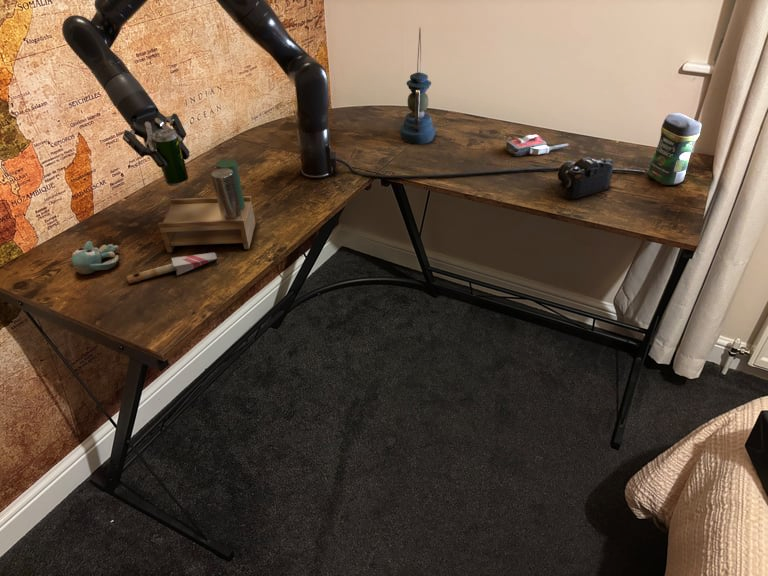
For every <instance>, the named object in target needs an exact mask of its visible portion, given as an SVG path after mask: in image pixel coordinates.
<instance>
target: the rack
mask: <svg viewBox="0 0 768 576" xmlns="http://www.w3.org/2000/svg"><path fill="white" fill-rule="evenodd" d="M215 168H216V169H214V170H213V171H212V172H211V178H212V183H213V189H214V192H215V197H214V196H213V197H191V198H187V197H186V198H171V199H170V203H171V205H170V207H169V209H168V211H167V213H166V215H165V217H164V219H163V221H162V222H161V221H159V222H158V227H159V230H160V233H161V236H162V240H163V242H164V243H163V244H164V246H165V248H166V252H167V253H173V251H174V249H175V247H178V246H199V245H224V244H226V245H227V244H242V245H243V249H244V250H250V247H251V243H252V239H253V236H254V231H255V227H256V225H257V223H256V219H255V218H256V217H255V214H254V207H253V202H252V196H251V195H245V196H244V193H243V187H242V182H241V179H240V172H239V168H238V162H237V160H236V159H233V158H222V159H219V160H218V161H217V162H216V163H215Z"/></svg>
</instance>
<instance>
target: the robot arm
mask: <svg viewBox="0 0 768 576" xmlns="http://www.w3.org/2000/svg"><path fill="white" fill-rule="evenodd" d="M148 1H149V0H95V1H94V4H93V5H94V9H95V13H94V15H93V17H92V18H91V19H88V18H87V17H85V16H83V15H79V14H74V15H73V14H72V15H70V16H67V18H65V19H64V21H63V22H62V26H61V32H62V36H63V39H64V41H65V42H66V44H67V45H68V46H69V48H70V49H71V50H72V51H73V52H74V54H75V55H76V56H77V57H78V58H79V59H80V60H81V62H82V63H83V64H84V65H85V66H86V67H87V69H89V71H90V72H91V73H92V74H93V76H94V78H95V79H96V80H97V82H98V83H99V85H100V86H101V87H102V89H103V90H104V91H105V93H106V95H107V98H108V99H109V100H110V101H111V103H112V105H113V107H115V108H116V110H117V111H118V112H119V114H120V115H121V117H122V118H123V119H124V121H125V122H126V123H127V125H128V126H129V127H130V129H129V130H128V129H127V130H124V132H123V135H122V140H123V141H124V142H125V143H126V144H127V145H128V146H129V147H130V148H131V149H132V150H133V151H135V153H136V154H138V156H139V157H141V158H144V157H146V156H149V157H150V158H151V159H152V161H154V163H155V165H157V167H158V168H160V169H161V168H162V169H165V168H166V167H167V165H168V164H167V162H166V161H165V159H164V158H163V157H162V155H161V154H160V153H159V151H156V147H155V144H154V140H153V133H154V132H155V131H157V130H160V129H165V128H170V129H174V130H175V131H176V133H177V135H178V138H179V142H180V146H181V150H182V154H183V158H184V161H186V160H188V159H189V158H190V154H191V153H190V149H188V147H187V146H186V144H185V143H184V141H185V138H186V137H187V132H186V129H185V128H184V126H183V124H182V121H181V120H180V118H179V115H178V113H174V112H173V113H172V114H171V115H168V116H167V115H166V116H165V115H164V114H163V113H161V112H160V110H159V108H158V106H157V105H156V103H155V102H154V101H153V99H152V98H151V96H150V95H149V94H148V92H147V91H146V90H145V88H144V87H143V86H142V84H141V82H140V81H139V80H138V79H137V78H136V77H135V76H134V75H133V73H132V72H131V71H130V70H129V68H128V67H127V66H126V64H125V63H124V61H123V60H122V59H121V57H119V55H117V54H116V53H115V52H114V51H113V50H112V49H111V48H112V47H113V45H114V43H115V42H116V40H117V38H118V36H119V35H120V34H121V31H122V30H123V27H124V26H125V25H126V24H127V23H128V22H129V21H130V20H131V19H132V18H133V17H134V16H135V15H136V14H137V13H138V11H139V10H140V9H142V7H143V6H145V4H146V3H147V2H148ZM215 1H216V2H217V3H218V5H219V6H220V7H221V8H222V9H223V11H224V12H225V13H226V14H227V15H228V16H229V17H230V19H231V20H232V21H233V22H234V23H235V25H237V26H238V28H239V29H241V31H242V32H243V33H244V34H245V35H246V36H247V37H248V38H249V39H250V40H252V42H254V44H256V45H257V46H259V47H260V48H261V49H262V50H263V51H265V52H266V53H267V54H268V55H269V56H270V57H271V58H273V60H274V61H275V63H277V65H278V66H279V68H280V69H281V70H282V71H283V73H284V74H285V76H286V77H287V78H288V80H289V81H290V83H291V85H293V87H294V88H295V96H296V97H295V99H296V106H295V109H294V113H295V122H296V123H295V124H296V132H297V140H298V148H299V160H300V164H301V165H300V167H301V174H302V176H304V177H306V178H309V179H323V178H326V177H330V176H333V171H334V169H333V168H337V162H338V163H340V164H343V165H344V166H346V167H347V168H348V170H349V171H350V172H352V173H354V174H355V175H358V176H362V177H367V178H375V179H429V178H431V179H432V178H433V179H434V178H448V177H449V178H452V177H465V176H477V175H478V176H479V175H490V174H492V175H493V174H503V173H504V174H505V173H515V172H517V173H518V172H533V171H559V169H560V167H561V166H545V167H543V166H541V167H540V166H539V167H523V168H509V169H508V168H507V169H495V170H482V171H470V172H469V171H468V172H456V173H439V174H438V173H437V174H415V175H414V174H405V175H403V174H397V175H396V174H391V175H390V174H389V175H388V174H383V175H382V174H374V173H365V172H364V173H363V172H360V171H358V170H356V169H354V168H353V167H352V165H350V163H348V162H347V161H345V160H343V159H341V158H338V157H337V151H332V141H331V135H330V124H329V122H330V121H329V108H330V93H329V91H330V90H329V79H328V73H327V70H326V68H325V67H324V66H323V65H322V64H321V63H320V62H319V61H318V60H317V59H316V58H314V57H312V56H311V55H310V54H309V53H308V52H307V51H306V50H305V49H304V48H302V46H300V45H299V43H297V42H296V41H295V40H294V38H292V36H291V35H290V34H289V32H288V31H287V29H286V28H285V26H284V24H283V22H282V21H281V19H280V18H279V16H278V15H277V13H276V11H275V10H274V9H273V8H272V6H271V5H270V4H269V3H268V2H267V0H215ZM167 123H168V124H169V125H167ZM171 127H172V128H171ZM137 137H139V138H141V139H143V143H142V142H141V141H140V140H139V139H138V138H137ZM162 169H161V170H162ZM612 172H617V173H631V174H642V175H644V174H646V173H645V172H646V171H645V170H640V169H629V168H628V169H627V168H614V167H613V171H612Z"/></svg>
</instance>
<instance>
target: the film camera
mask: <svg viewBox="0 0 768 576" xmlns="http://www.w3.org/2000/svg"><path fill="white" fill-rule="evenodd" d="M614 165H615V162H614V161H612V159H610V158H605V159H604V158H599V159H594V158H591V157H589V156H587V157H583V158H581V159H579V160H577V161H572V160H566V161H565V162H563V163H562V164H561V166H559V167H560V169H559V170H558V172H557V179H558V180H559V181H560V182H561V183H562V184H563V185H564V188H563V198H566V199H567V200H573V199H578V198H579V199H580V198H582V197H585V196H589V195H592V194H595V193H598V192H602V191H605V190H607V189H609V188H610V184H611V179H612V176H613V172H614V171H613V168H614Z"/></svg>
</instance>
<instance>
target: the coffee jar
mask: <svg viewBox="0 0 768 576" xmlns="http://www.w3.org/2000/svg"><path fill="white" fill-rule="evenodd" d="M701 129H702V123H701V122H700V121H697V120H695V119H693V118H691V117H689V116H687V115H685V114H682V112H676V113H670V114H668V115H666V116H665V118H664V120H663V122H662V125H661V128H660V137H659V141H658V144H657V147H656V149H655V152H654V155H653V157H652V160H651V162H650V163H649V167H648V170H647V175H648V176H649V177H650V178H652V180H654V181H656V182H658V183H659V184H662V185H665V186H666V185H667V186H676V185H678V184H681V183H683V181H684V180H685V175H686V173H687V172H686V171H687V169H688V165H689V160H690V157H691V154H692V151H693V147H694V145H695V143H696V141H697V140H698V138H699V137H700V134H701Z"/></svg>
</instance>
